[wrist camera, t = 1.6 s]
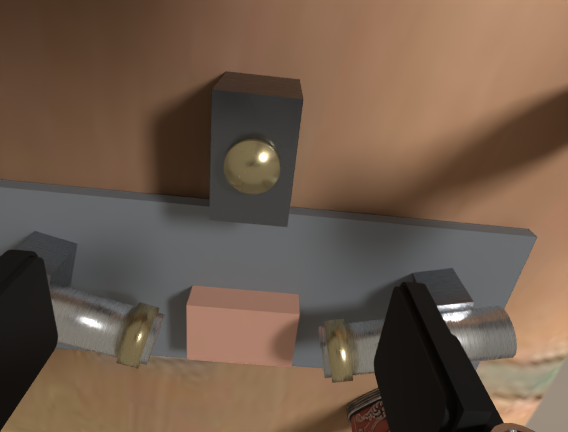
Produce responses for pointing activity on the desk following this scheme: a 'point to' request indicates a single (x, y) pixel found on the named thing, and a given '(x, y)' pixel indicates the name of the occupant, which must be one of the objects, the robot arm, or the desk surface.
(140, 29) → the desk surface
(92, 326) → the shaft
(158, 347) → the base plate
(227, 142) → the block
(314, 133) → the desk surface
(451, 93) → the desk surface
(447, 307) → the shaft
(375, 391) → the lighter
